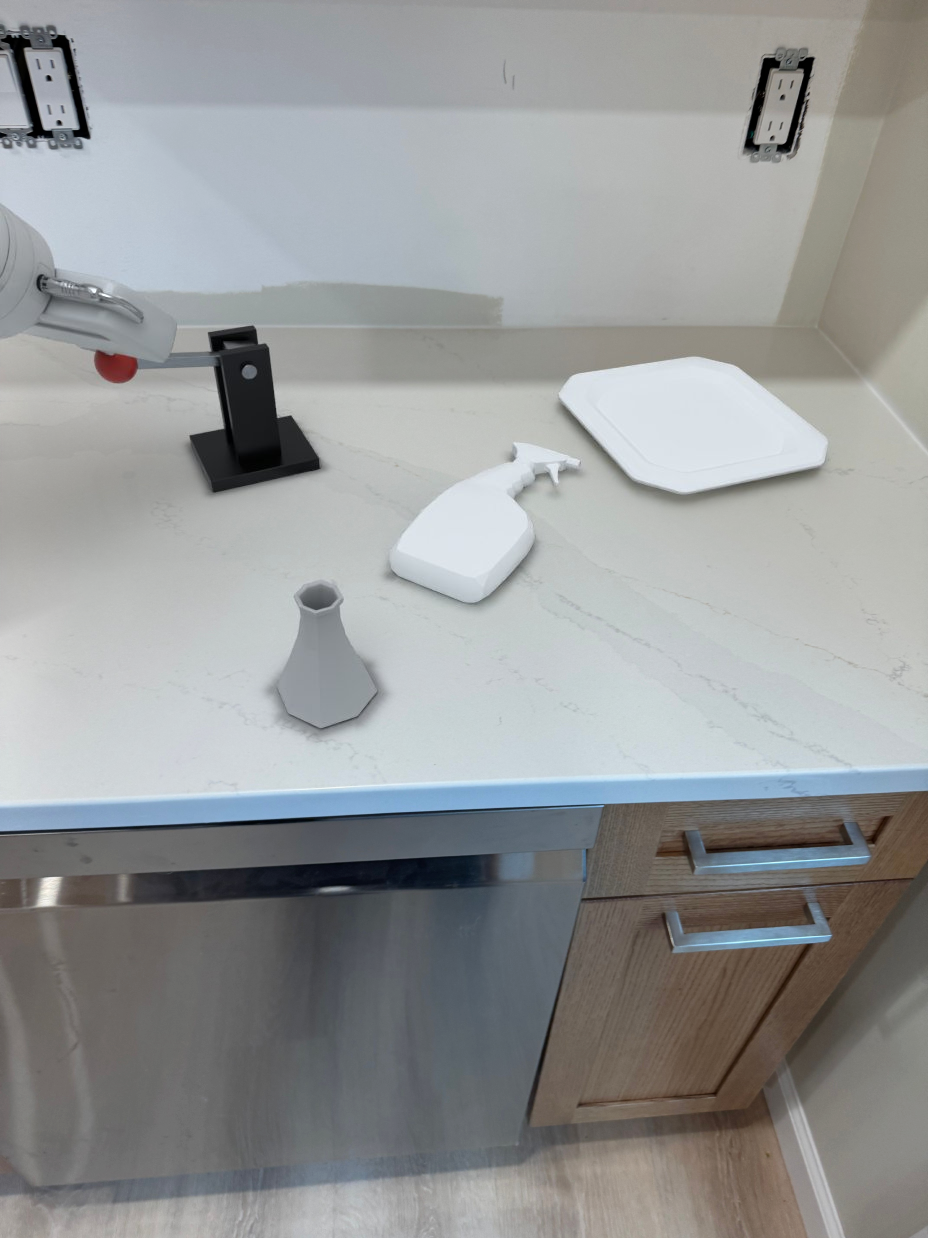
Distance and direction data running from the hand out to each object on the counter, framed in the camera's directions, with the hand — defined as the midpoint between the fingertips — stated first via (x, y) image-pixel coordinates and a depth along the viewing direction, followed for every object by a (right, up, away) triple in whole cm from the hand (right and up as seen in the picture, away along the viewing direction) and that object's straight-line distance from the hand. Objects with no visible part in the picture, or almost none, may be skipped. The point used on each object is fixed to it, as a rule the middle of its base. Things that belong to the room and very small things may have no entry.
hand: (102, 343), depth 71 cm
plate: (+56, -3, +23) cm, 61 cm away
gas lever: (+5, -1, +5) cm, 7 cm away
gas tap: (+10, -7, +14) cm, 18 cm away
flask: (+21, -29, -8) cm, 37 cm away
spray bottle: (+34, -14, +9) cm, 38 cm away
